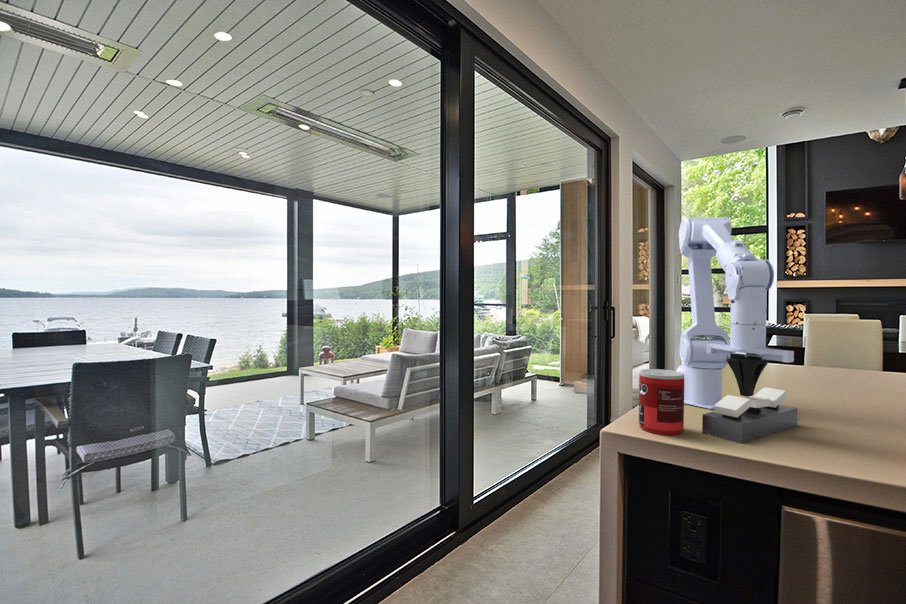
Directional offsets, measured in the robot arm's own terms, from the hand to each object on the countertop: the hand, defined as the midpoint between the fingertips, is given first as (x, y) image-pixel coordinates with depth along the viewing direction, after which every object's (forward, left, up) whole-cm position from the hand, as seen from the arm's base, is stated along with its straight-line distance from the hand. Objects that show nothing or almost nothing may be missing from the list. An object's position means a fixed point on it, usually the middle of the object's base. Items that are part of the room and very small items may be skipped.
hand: (746, 395), depth 88 cm
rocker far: (0, +9, -1) cm, 9 cm away
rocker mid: (0, +2, -1) cm, 2 cm away
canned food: (-9, -13, -7) cm, 17 cm away
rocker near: (0, -5, -1) cm, 5 cm away
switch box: (0, +5, -7) cm, 8 cm away
